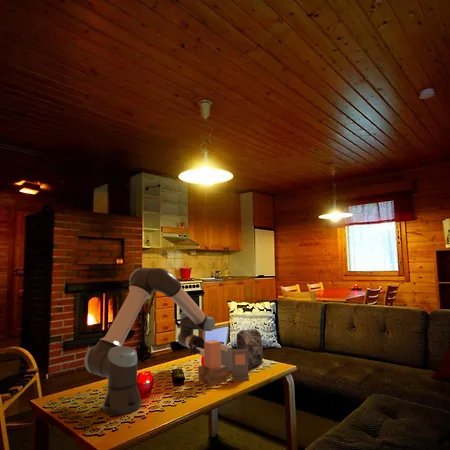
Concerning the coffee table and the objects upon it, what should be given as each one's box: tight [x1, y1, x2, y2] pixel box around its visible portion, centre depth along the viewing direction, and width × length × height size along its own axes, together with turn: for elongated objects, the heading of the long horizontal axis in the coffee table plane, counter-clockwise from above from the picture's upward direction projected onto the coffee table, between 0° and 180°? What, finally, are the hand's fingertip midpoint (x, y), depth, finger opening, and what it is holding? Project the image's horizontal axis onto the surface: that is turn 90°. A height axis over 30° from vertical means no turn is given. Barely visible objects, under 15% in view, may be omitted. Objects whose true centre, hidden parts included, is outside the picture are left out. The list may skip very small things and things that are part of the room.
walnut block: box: [198, 364, 228, 386], centre depth 172 cm, size 10×10×7 cm
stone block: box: [235, 328, 264, 369], centre depth 195 cm, size 18×9×20 cm, turn 130°
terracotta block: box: [203, 339, 221, 369], centre depth 173 cm, size 6×6×12 cm
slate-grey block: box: [221, 344, 233, 372], centre depth 190 cm, size 6×6×12 cm
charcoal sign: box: [231, 349, 250, 382], centre depth 173 cm, size 8×4×14 cm, turn 93°
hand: (215, 350), depth 170 cm, fingers open, 13 cm apart
